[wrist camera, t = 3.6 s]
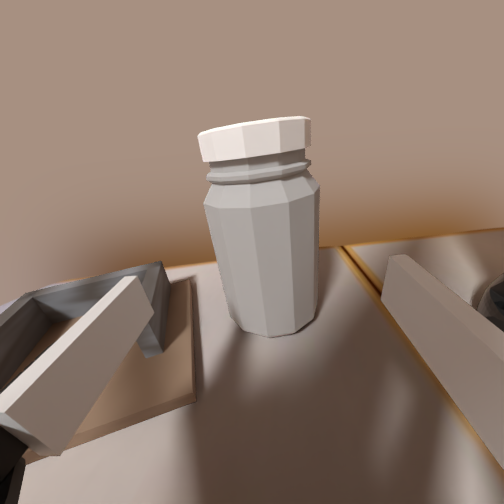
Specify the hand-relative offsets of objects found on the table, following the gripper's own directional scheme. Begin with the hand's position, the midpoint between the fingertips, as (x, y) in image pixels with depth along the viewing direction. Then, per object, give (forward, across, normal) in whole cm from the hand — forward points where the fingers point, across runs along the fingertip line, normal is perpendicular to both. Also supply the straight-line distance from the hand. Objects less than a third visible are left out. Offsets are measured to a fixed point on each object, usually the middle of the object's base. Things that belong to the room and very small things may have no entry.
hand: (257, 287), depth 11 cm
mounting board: (+4, -18, -10) cm, 21 cm away
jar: (+9, 0, -10) cm, 14 cm away
